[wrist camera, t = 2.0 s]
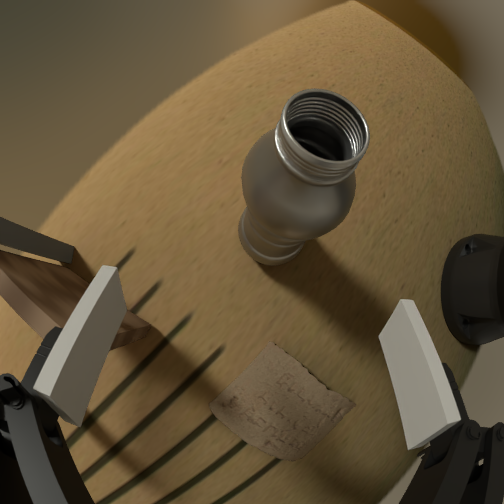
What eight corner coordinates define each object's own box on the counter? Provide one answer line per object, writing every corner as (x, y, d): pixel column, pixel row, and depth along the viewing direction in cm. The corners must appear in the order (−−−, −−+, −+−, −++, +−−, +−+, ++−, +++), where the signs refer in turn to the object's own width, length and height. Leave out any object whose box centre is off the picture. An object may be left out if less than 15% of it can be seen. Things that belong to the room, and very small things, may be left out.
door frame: (74, 246, 28) (-41, 198, 10) (63, 392, 25) (-40, 438, 7) (62, 244, 28) (-51, 197, 10) (50, 387, 25) (-51, 427, 7)
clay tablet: (358, 403, 27) (367, 411, 25) (300, 464, 26) (305, 476, 23) (262, 332, 28) (264, 335, 26) (201, 401, 27) (198, 410, 24)
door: (56, 274, 27) (-31, 255, 13) (66, 254, 27) (-19, 224, 13) (145, 337, 26) (73, 364, 13) (156, 314, 27) (88, 325, 13)
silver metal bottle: (298, 205, 30) (379, 76, 10) (301, 268, 29) (415, 209, 9) (237, 205, 30) (242, 59, 10) (238, 269, 29) (243, 203, 9)
